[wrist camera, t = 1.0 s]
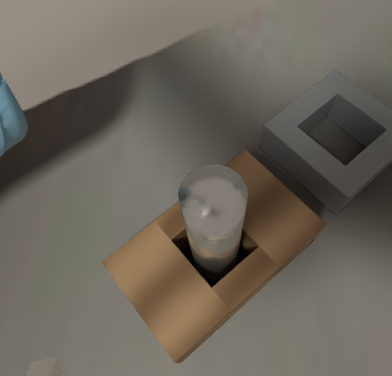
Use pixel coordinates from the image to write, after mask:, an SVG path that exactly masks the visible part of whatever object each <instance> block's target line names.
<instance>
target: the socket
mask: <svg viewBox="0 0 392 376" xmlns="http://www.w3.org/2000/svg"><path fill="white" fill-rule="evenodd" d="M326 118H329V119H330V120H331V121H333V122H334V123H335V124H336V125H338V126H339V127H340V128H342V129H343V130H344V131H345V132H347V133H348V134H349V135H350V136H352V137H353V138H354V139H356V140H357V141H358V142H359V143H361V144H362V145H363V146H365V147H366V148H365V149H364V150H363V151H362V152H361V153H360V154H359V155H357V156H356V157H355V158H354V159H353V160H352V161H351V162H349V163H348V164H347V165H346V166H345V165H343V164H342V163H341V162H340V161H339V160H337V159H336V158H335V157H334V156H332V155H331V154H330V153H329V152H328V151H326V150H325V149H324V148H323V147H322V146H320V145H319V144H318V143H317V142H315V141H314V140H313V139H312V138H311V137H309V136H308V135H307V133H309V132H310V131H311V130H312V129H314V128H315V127H316V126H317V125H319V124H320V123H321V122H322V121H323V120H325V119H326ZM260 148H261V149H263V150H264V151H265V152H266V153H267V154H268V155H269V156H270V157H271V158H273V159H274V160H275V161H276V162H277V163H278V164H279V165H280V166H282V167H283V168H284V169H285V170H286V171H287V172H288V173H289V174H290V175H292V176H293V177H294V178H295V179H296V180H297V181H298V182H299V183H300V184H302V185H303V186H304V187H305V188H306V189H307V190H308V191H309V192H310V193H312V194H313V195H314V196H315V197H316V198H317V199H318V200H319V201H321V202H322V203H323V204H324V205H325V206H326V207H327V208H328V209H329V210H331V211H332V212H333V213H334V214H335V215H336V214H337V213H338V212H339V211H340V210H341V209H342V208H343V207H344V206H345V205H347V204H348V203H349V202H350V201H351V200H352V199H353V198H354V197H355V196H356V195H357V194H359V193H360V192H361V191H362V190H363V189H364V188H365V187H366V186H367V185H368V184H369V183H371V182H372V181H373V180H374V179H375V178H376V177H377V176H378V175H379V174H380V173H381V172H383V171H384V170H385V169H386V168H387V167H388V166H389V165H390V164H391V163H392V109H391V108H389V107H388V106H387V105H385V104H384V103H382V102H381V101H380V100H378V99H377V98H375V97H374V96H373V95H371V94H370V93H368V92H367V91H365V90H364V89H363V88H361V87H360V86H358V85H357V84H356V83H354V82H353V81H351V80H350V79H349V78H347V77H346V76H344V75H343V74H342V73H340V72H339V71H337V70H336V69H335V70H334V71H333V72H331V73H330V74H329V75H327V76H326V77H325V78H324V79H322V80H321V81H320V82H318V83H317V84H316V85H315V86H313V87H312V88H311V89H309V90H308V91H307V92H305V93H304V94H303V95H302V96H300V97H299V98H298V99H296V100H295V101H294V102H293V103H291V104H290V105H289V106H287V107H286V108H285V109H284V110H282V111H281V112H280V113H278V114H277V115H276V116H274V117H273V118H272V119H271V120H269V121H268V122H267V123H265V124H264V126H263V131H262V136H261V142H260Z"/></svg>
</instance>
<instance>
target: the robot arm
mask: <svg viewBox="0 0 392 376" xmlns="http://www.w3.org/2000/svg"><path fill="white" fill-rule="evenodd" d="M27 131H28V123H27V120H26V118H25V115H24V113H23V111H22V109H21V108H20V105H19V104H18V102H17V100H16V98H15V96H14V95H13V93H12V91H11V90H10V88H9V86H8V85H7V83H6V82H5V80H4V79H3V78H2V75H1V73H0V157H1V156H2V155H3V154H4V152H5V151H7V150H8V149H10V148H11V147H12V146H14V145H15V144H17V143H18V142H20V141H21V140H23V139H24V137H25V136H26V134H27ZM26 376H64V373H63V370H62V368H61V365H60V362H59V360H58V357H52V358H47V359H42V360H37V361H32V363H31V365H30V367H29V369H28V371H27V374H26Z"/></svg>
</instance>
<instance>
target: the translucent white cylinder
mask: <svg viewBox="0 0 392 376" xmlns="http://www.w3.org/2000/svg"><path fill="white" fill-rule="evenodd" d="M178 197H179V203H180V207H181V211H182V215H183V219H184V223H185V227H186V231H187V235H188V239H189V243H190V247H191V251H192V255H193V259H194V263H195V266H196V268H197V270H198V272H199V273H200V274H201V275H203V276H204V277H206V278H208V279H212V280H218V279H223V278H224V277H225V276H226V275H227V274H228V273H229V272H230V271H232V270H233V269H234V268H235V266H236V262H237V256H238V250H239V244H240V239H241V233H242V227H243V222H244V216H245V210H246V204H247V198H248V193H247V187H246V185H245V182H244V180H243V179H242V178H241V176H240V175H239V174H238V173H237V172H235V171H234V170H232V169H231V168H229V167H226V166H223V165H218V164H208V165H203V166H200V167H198V168H196V169H194V170H192V171H191V172H190V173H189V174H188V175H187V176H186V177H185V178H184V179H183V181H182V183H181V185H180V188H179V195H178Z"/></svg>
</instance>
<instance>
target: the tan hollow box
mask: <svg viewBox="0 0 392 376" xmlns="http://www.w3.org/2000/svg"><path fill="white" fill-rule="evenodd" d="M225 166H226V167H229V168H231V169H232V170H234V171H235V172H237V173H238V174H239V175H240V176H241V178H242V179H243V180H244V182H245V185H246V187H247V193H248V198H247V204H246V210H245V216H244V222H243V227H242V233H241V239H240V244H239V245H240V246H241V247H242V248H243V249H244V251H245V252H246V253H247V254H248V255H249V256H248V257H246V258H245V259H244V260H243V261H242V262H241V263H240V264H238V265H237V266H236V267H235V268H234V269H233V270H232V271H230V272H229V273H228V274H227V275H226V276H225V277H224V278H223V279H221V280H220V281H219V282H218V283H217V284H216V285H215V286H213V287H212V288H211V287H210V286H209V285H208V283H207V282H206V281H205V280H204V279H203V277H202V276H201V275H200V274H199V273H198V272H197V270H196V269H195V268H194V267H193V266H192V264H191V263H190V262H189V261H188V260H187V259H186V257H185V256H184V255H183V254H182V253H181V252H182V251H183V250H184V249H185V248H187V247H188V246H189V245H190V243H189V239H188V235H187V231H186V227H185V223H184V219H183V215H182V211H181V207H180V203H179V202H178V203H177V204H176V205H174V206H173V207H172V208H170V209H169V210H168V211H167V212H165V213H164V214H163V215H161V216H160V217H159V218H158V219H156V220H155V221H154V222H153V223H151V224H150V225H149V226H147V227H146V228H145V229H144V230H142V231H141V232H140V233H139V234H137V235H136V236H135V237H133V238H132V239H131V240H130V241H128V242H127V243H126V244H124V245H123V246H122V247H121V248H119V249H118V250H117V251H116V252H114V253H113V254H112V255H110V256H109V257H108V258H107V259H105V260H104V261H103V262H102V264H103V265H104V266H105V268H106V269H107V271H108V272H109V273H110V275H111V276H112V277H113V279H114V280H115V281H116V283H117V284H118V286H119V287H120V288H121V290H122V291H123V292H124V294H125V295H126V297H127V298H128V299H129V301H130V302H131V303H132V305H133V306H134V308H135V309H136V310H137V312H138V313H139V314H140V316H141V317H142V319H143V320H144V321H145V323H146V324H147V325H148V327H149V328H150V329H151V331H152V332H153V334H154V335H155V336H156V338H157V339H158V340H159V342H160V343H161V345H162V346H163V347H164V349H165V350H166V351H167V353H168V354H169V356H170V357H171V358H172V360H173V361H174V362H175V363H181V362H182V361H184V360H185V359H186V358H187V357H188V356H189V355H190V354H191V353H192V352H193V351H194V350H195V349H197V348H198V347H199V346H200V345H201V344H202V343H203V342H204V341H205V340H206V339H207V338H208V337H210V336H211V335H212V334H213V333H214V332H215V331H216V330H217V329H218V328H219V327H220V326H222V325H223V324H224V323H225V322H226V321H227V320H228V319H229V318H230V317H231V316H232V315H233V314H235V313H236V312H237V311H238V310H239V309H240V308H241V307H242V306H243V305H244V304H245V303H246V302H248V301H249V300H250V299H251V298H252V297H253V296H254V295H255V294H256V293H257V292H258V291H260V290H261V289H262V288H263V287H264V286H265V285H266V284H267V283H268V282H269V281H270V280H271V279H273V278H274V277H275V276H276V275H277V274H278V273H279V272H280V271H281V270H282V269H283V268H284V267H286V266H287V265H288V264H289V263H290V262H291V261H292V260H293V259H294V258H295V257H296V256H297V255H299V254H300V253H301V252H302V251H303V250H304V249H305V248H306V247H307V246H308V245H309V244H311V243H312V242H313V241H314V239H315V238H316V237H317V235H318V234H319V233H320V232H321V230H322V229H323V228H324V226H325V225H326V223H325V222H324V221H323V220H322V219H321V218H320V217H318V216H317V215H316V214H315V213H314V212H313V211H312V210H311V209H310V208H309V207H308V206H306V205H305V204H304V203H303V202H302V201H301V200H300V199H299V198H298V197H297V196H296V195H295V194H293V193H292V192H291V191H290V190H289V189H288V188H287V187H286V186H285V185H284V184H283V183H281V182H280V181H279V180H278V179H277V178H276V177H275V176H274V175H273V174H272V173H271V172H270V171H268V170H267V169H266V168H265V167H264V166H263V165H262V164H261V163H260V162H259V161H258V160H256V159H255V158H254V157H253V156H252V155H251V154H250V153H249V152H248V151H247V150H244V151H243V152H242V153H241V154H239V155H238V156H237V157H236V158H234V159H233V160H232V161H230V162H229V163H228V164H227V165H225Z"/></svg>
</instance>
